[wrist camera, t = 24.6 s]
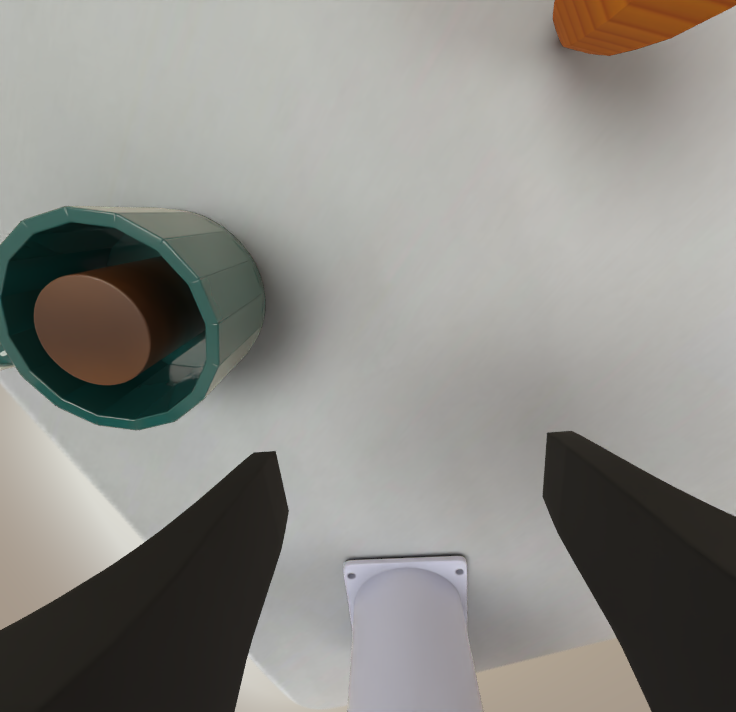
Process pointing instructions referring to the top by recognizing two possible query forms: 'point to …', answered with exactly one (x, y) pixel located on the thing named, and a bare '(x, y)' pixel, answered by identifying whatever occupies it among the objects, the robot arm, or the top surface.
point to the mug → (118, 246)
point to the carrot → (628, 22)
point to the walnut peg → (116, 319)
